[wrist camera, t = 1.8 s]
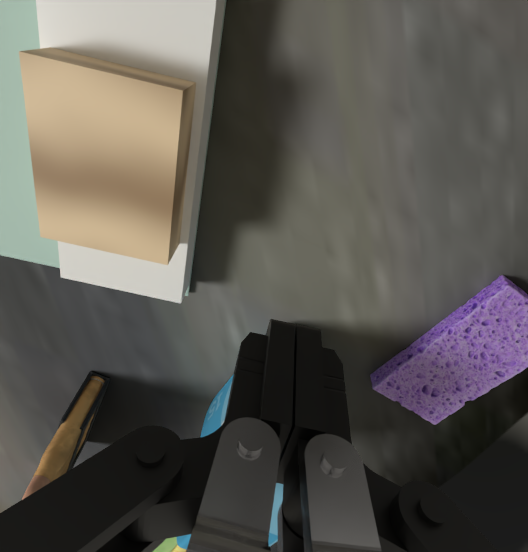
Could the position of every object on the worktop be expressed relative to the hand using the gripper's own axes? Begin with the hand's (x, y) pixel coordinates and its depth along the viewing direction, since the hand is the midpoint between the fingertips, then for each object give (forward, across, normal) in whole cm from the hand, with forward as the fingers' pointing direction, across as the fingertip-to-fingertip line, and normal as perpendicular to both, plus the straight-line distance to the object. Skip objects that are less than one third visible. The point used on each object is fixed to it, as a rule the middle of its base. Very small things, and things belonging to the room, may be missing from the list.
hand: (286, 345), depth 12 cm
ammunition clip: (+15, +14, +26) cm, 33 cm away
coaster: (+12, +10, 0) cm, 15 cm away
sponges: (+15, -15, +10) cm, 24 cm away
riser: (+14, +10, 0) cm, 17 cm away
